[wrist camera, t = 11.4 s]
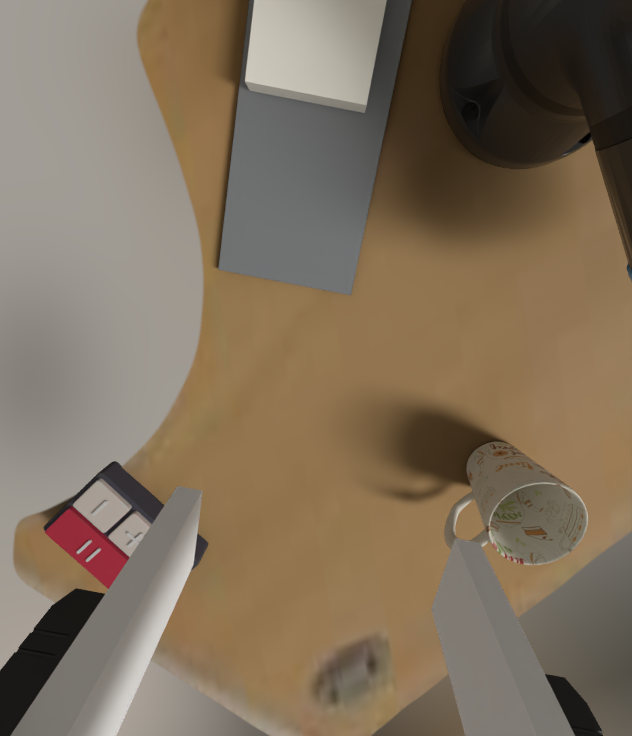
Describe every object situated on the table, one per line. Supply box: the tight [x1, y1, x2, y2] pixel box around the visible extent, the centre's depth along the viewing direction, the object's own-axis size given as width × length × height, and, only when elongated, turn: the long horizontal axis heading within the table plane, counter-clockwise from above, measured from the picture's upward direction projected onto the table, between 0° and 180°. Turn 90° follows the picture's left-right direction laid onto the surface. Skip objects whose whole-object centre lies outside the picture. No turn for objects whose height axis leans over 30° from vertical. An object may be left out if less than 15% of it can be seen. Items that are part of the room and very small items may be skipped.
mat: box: [218, 0, 412, 295], centre depth 36 cm, size 13×29×1 cm, turn 170°
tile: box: [245, 0, 387, 113], centre depth 32 cm, size 10×2×13 cm
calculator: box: [44, 461, 208, 589], centre depth 47 cm, size 11×4×15 cm
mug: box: [444, 442, 588, 565], centre depth 40 cm, size 8×13×10 cm, turn 138°
